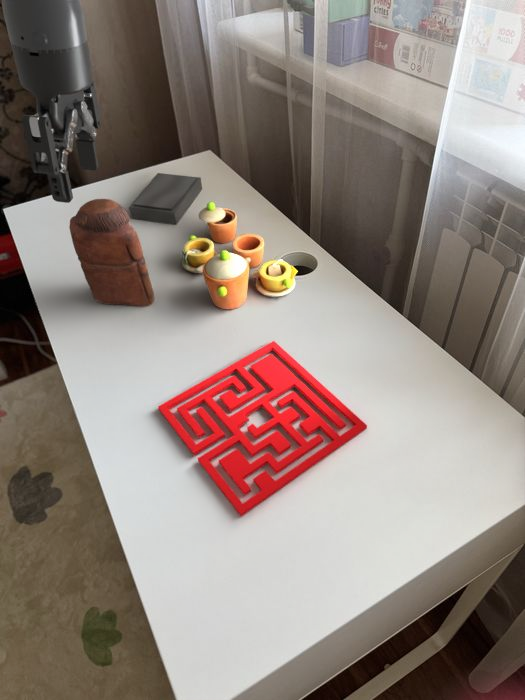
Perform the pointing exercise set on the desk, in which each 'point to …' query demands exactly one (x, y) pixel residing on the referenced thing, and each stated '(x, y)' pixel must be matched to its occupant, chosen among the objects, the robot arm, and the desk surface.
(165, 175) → the block
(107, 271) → the wooden figurine
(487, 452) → the desk surface
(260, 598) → the desk surface
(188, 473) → the desk surface
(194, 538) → the desk surface
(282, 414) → the maze puzzle
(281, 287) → the toy tea set
